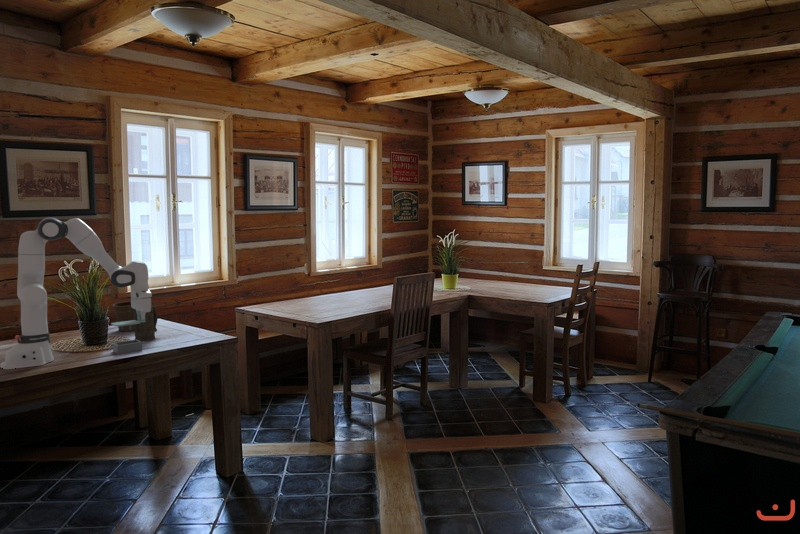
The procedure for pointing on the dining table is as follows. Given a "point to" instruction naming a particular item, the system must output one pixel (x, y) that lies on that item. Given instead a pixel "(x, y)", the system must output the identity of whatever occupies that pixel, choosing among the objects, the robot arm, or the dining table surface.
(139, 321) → the lid
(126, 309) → the plant pot
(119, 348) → the tub
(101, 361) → the dining table surface
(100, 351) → the dining table surface
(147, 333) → the beer stein
